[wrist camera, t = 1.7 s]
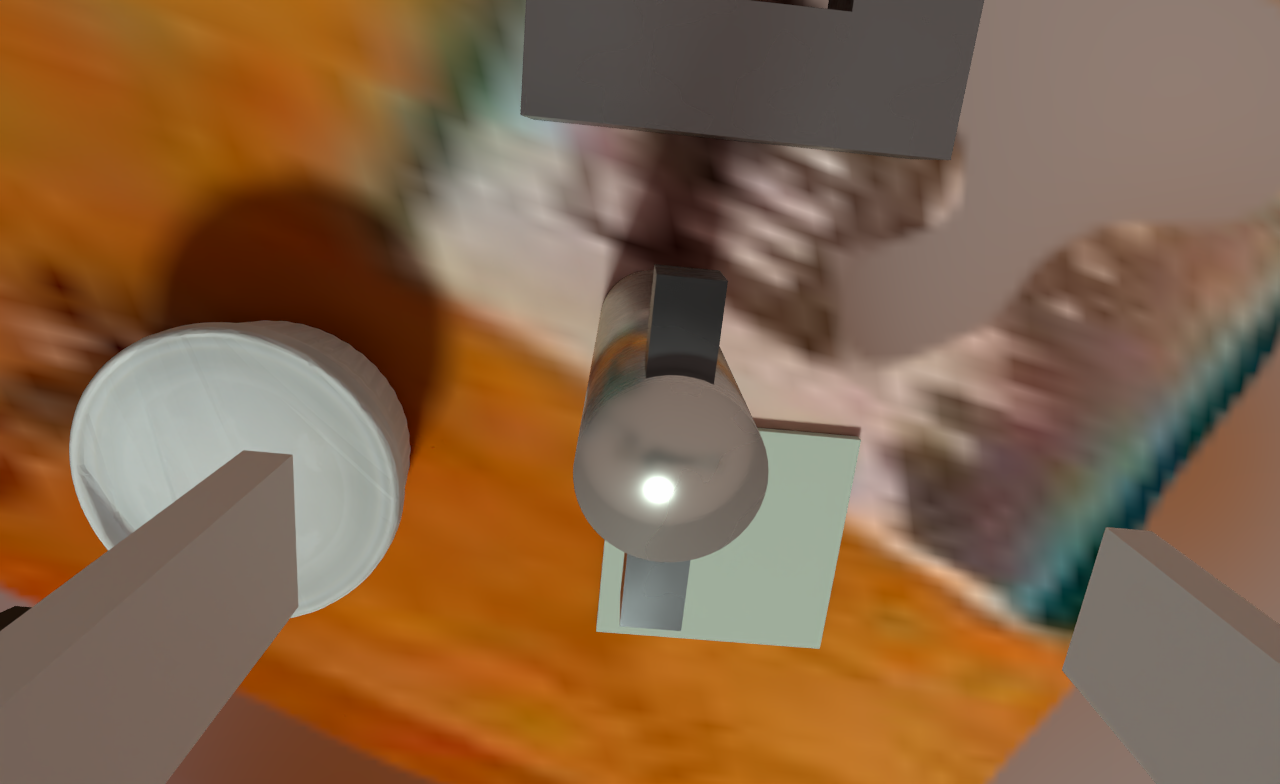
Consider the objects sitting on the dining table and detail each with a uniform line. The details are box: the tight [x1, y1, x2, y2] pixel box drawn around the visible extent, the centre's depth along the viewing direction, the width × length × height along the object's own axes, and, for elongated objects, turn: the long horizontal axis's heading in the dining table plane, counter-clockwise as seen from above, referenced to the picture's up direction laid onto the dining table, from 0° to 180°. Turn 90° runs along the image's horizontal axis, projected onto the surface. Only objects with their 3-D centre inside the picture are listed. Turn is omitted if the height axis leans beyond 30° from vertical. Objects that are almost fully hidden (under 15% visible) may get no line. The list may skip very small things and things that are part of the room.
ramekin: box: [69, 320, 411, 618], centre depth 29 cm, size 11×11×5 cm
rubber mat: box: [596, 428, 861, 649], centre depth 33 cm, size 10×10×1 cm
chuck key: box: [573, 264, 769, 631], centre depth 23 cm, size 4×8×15 cm, turn 174°
